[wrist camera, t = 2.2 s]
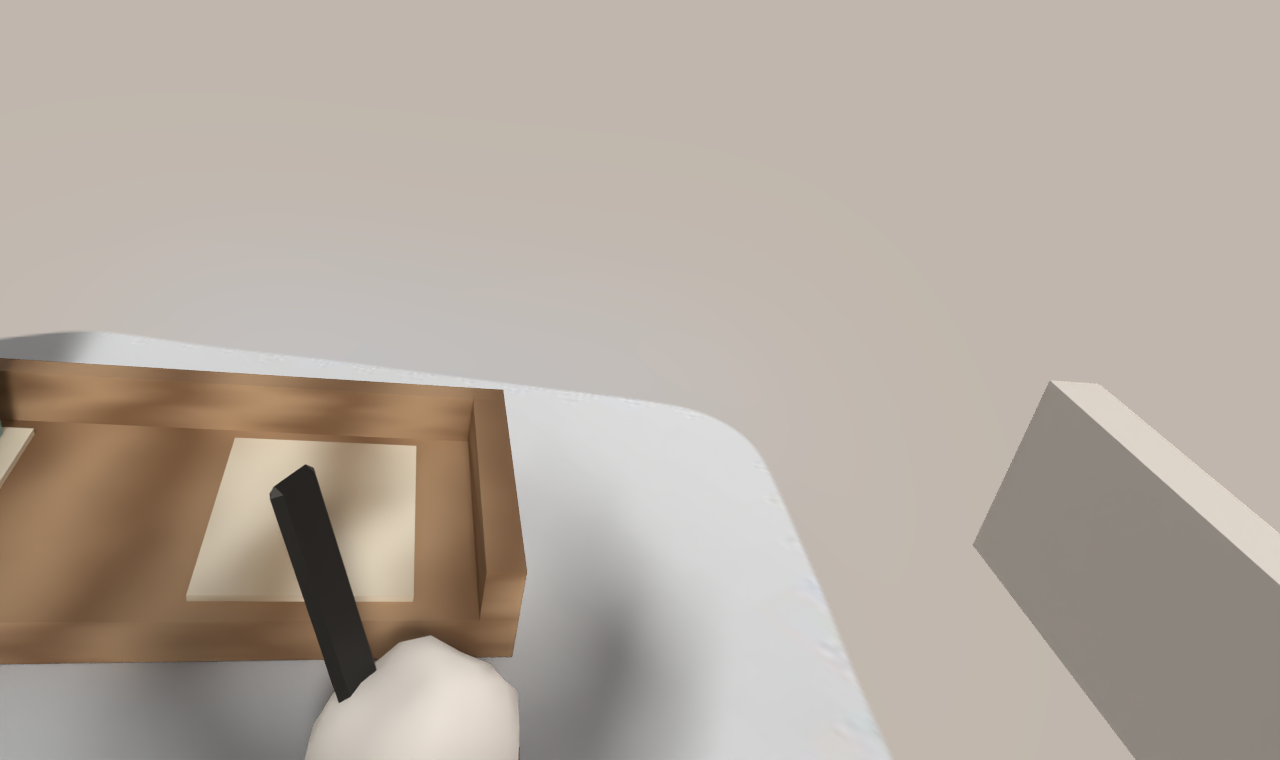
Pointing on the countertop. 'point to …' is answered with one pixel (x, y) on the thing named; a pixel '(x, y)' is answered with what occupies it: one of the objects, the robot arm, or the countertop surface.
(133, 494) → the tray
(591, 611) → the countertop surface
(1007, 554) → the robot arm
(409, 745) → the cocoa
